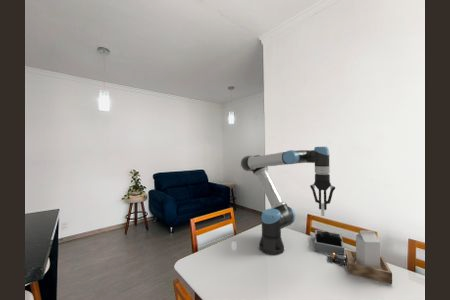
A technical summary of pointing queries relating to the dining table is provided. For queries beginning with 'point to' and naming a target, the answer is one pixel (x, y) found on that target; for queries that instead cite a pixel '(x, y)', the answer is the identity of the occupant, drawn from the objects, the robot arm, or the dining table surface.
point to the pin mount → (337, 260)
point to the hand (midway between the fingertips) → (322, 215)
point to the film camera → (328, 239)
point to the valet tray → (329, 248)
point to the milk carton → (368, 249)
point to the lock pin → (336, 256)
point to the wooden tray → (368, 269)
